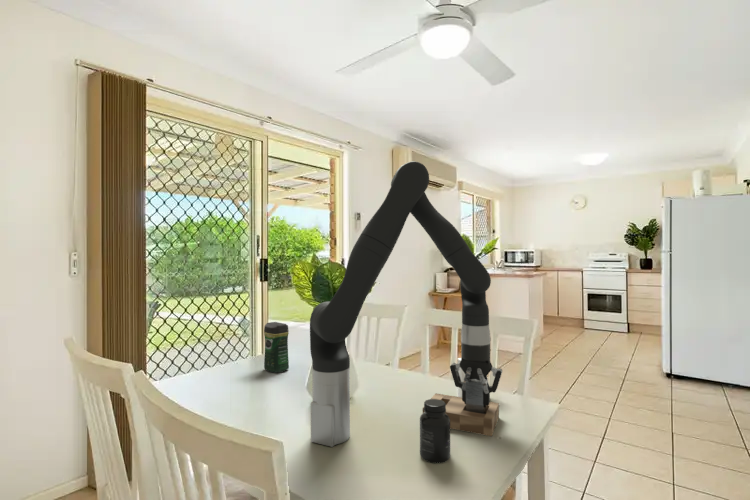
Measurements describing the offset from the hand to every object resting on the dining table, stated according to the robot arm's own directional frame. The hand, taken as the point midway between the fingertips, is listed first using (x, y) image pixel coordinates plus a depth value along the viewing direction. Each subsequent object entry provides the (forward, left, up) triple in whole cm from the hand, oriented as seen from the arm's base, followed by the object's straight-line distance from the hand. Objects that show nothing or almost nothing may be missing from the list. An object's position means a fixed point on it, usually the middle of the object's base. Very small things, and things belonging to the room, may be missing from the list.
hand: (476, 404), depth 104 cm
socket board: (0, +4, -5) cm, 6 cm away
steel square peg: (0, 0, -3) cm, 3 cm away
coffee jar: (+15, +80, -5) cm, 82 cm away
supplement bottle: (-21, +5, -5) cm, 22 cm away
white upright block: (+19, +5, -5) cm, 20 cm away
